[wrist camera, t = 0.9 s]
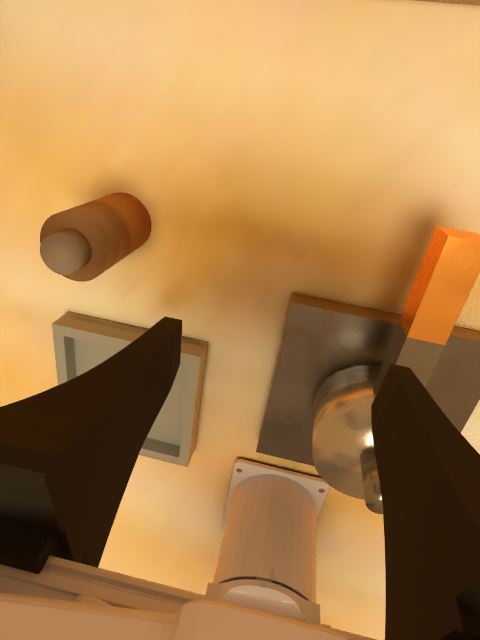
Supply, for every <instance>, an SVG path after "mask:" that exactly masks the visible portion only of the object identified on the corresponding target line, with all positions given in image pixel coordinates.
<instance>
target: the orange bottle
mask: <svg viewBox="0 0 480 640" xmlns="http://www.w3.org/2000/svg"><path fill="white" fill-rule="evenodd" d="M150 232H151V220H150V216H149V213H148V211H147V209H146V208H145V206H144V205H143V204H142V203H141V202H140V201H139V200H138V199H137V198H135V197H133V196H132V195H129V194H126V193H114V194H111V195H108V196H105V197H103V198H100V199H97V200H94V201H91V202H88V203H85V204H82V205H80V206H77V207H74V208H71V209H68V210H65V211H62V212H60V213H57V214H54V215H52V216H50V217H49V218H48V219H47V220H46V221H45V223H44V224H43V226H42V229H41V233H40V243H41V245H40V253H41V257H42V259H43V261H44V263H45V264H46V265H47V267H48V268H49V269H51V270H52V271H54V272H55V273H58V274H61V275H63V276H64V277H66V278H68V279H71V280H75V281H89V280H92V279H94V278H96V277H97V276H99V275H100V274H102V273H103V272H104V271H106V270H107V269H109V268H110V267H112V266H113V265H114V264H116V263H117V262H119V261H120V260H122V259H123V258H124V257H126V256H127V255H129V254H130V253H131V252H133V251H134V250H136V249H137V248H139V247H140V246H141V245H143V244H144V243H145V242H146V241H147V239H148V238H149V235H150Z"/></svg>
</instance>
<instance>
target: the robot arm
mask: <svg viewBox="0 0 480 640" xmlns="http://www.w3.org/2000/svg"><path fill="white" fill-rule="evenodd" d="M181 336H182V320H178V319H174V318H169V317H164V318H163V319H161V320H160V321H159V322H157V323H156V324H155V325H154V326H152V327H151V328H150V329H149V330H147V331H146V332H145V333H143V334H142V335H141V336H140V337H138V338H137V339H136V340H134V341H133V342H131V343H130V344H129V345H127V346H126V347H125V348H123V349H122V350H120V351H119V352H117V353H116V354H114V355H113V356H111V357H110V358H108V359H107V360H105V361H104V362H102V363H100V364H99V365H97V366H95V367H94V368H92V369H90V370H88V371H87V372H85V373H83V374H81V375H79V376H77V377H75V378H73V379H71V380H69V381H67V382H64V383H62V384H60V385H58V386H55V387H53V388H51V389H49V390H47V391H44V392H42V393H39V394H36V395H34V396H31V397H29V398H26V399H23V400H20V401H17V402H14V403H11V404H8V405H5V406H2V407H0V640H376V639H372V638H368V637H364V636H361V635H357V634H353V633H349V632H345V631H341V630H337V629H333V628H331V626H329V625H325V624H321V625H320V605H319V604H316V521H317V519H318V516H319V514H320V511H321V508H322V506H323V503H324V500H325V498H326V495H327V493H328V490H329V484H328V483H326V482H325V481H324V480H323V479H321V478H317V477H313V476H309V475H305V474H301V473H297V472H293V471H289V470H284V469H280V468H276V467H272V466H268V465H264V464H260V463H256V462H252V461H248V460H244V459H237V460H236V461H235V463H234V468H233V473H232V478H231V483H230V488H229V493H228V498H227V503H226V509H225V514H224V519H223V524H222V529H223V531H225V532H224V537H223V541H222V546H221V550H220V555H219V559H218V564H217V568H216V573H215V577H214V582H213V583H208V586H207V590H206V595H201V594H197V593H194V592H190V591H186V590H182V589H178V588H174V587H170V586H166V585H163V584H159V583H155V582H151V581H147V580H143V579H139V578H135V577H131V576H128V575H124V574H120V573H116V572H112V571H108V570H104V569H100V568H98V566H99V563H100V560H101V557H102V554H103V551H104V548H105V545H106V542H107V539H108V536H109V533H110V530H111V528H112V525H113V522H114V519H115V516H116V513H117V511H118V508H119V505H120V502H121V500H122V497H123V494H124V491H125V489H126V486H127V483H128V481H129V478H130V475H131V473H132V470H133V468H134V465H135V463H136V460H137V457H138V455H139V452H140V450H141V448H142V446H143V444H144V441H145V439H146V437H147V435H148V434H149V432H150V430H151V428H152V426H153V424H154V422H155V420H156V418H157V416H158V414H159V412H160V410H161V408H162V406H163V404H164V402H165V400H166V398H167V396H168V394H169V392H170V390H171V388H172V386H173V383H174V380H175V378H176V375H177V372H178V369H179V366H180V359H181ZM371 425H372V438H373V445H374V451H375V458H376V464H377V470H378V476H379V482H380V488H381V495H382V503H383V515H384V535H385V565H386V622H385V640H480V455H479V453H478V452H477V451H476V450H475V449H474V448H473V447H472V446H471V445H470V444H469V442H468V441H467V440H466V439H465V438H464V437H463V436H462V434H461V433H460V432H459V431H458V430H457V429H456V427H455V426H454V425H453V424H452V422H451V421H450V420H449V419H448V418H447V416H446V415H445V414H444V412H443V411H442V410H441V409H440V407H439V406H438V405H437V403H436V402H435V401H434V399H433V398H432V397H431V395H430V394H429V393H428V391H427V390H426V389H425V387H424V386H423V384H422V383H421V382H420V380H419V379H418V378H417V376H416V375H415V374H414V372H413V371H412V370H411V368H410V367H405V366H400V365H395V364H391V365H390V367H389V369H388V371H387V374H386V376H385V378H384V380H383V382H382V384H381V386H380V388H379V390H378V392H377V394H376V396H375V399H374V401H373V403H372V405H371ZM238 468H240V469H238Z"/></svg>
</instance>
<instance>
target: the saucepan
mask: <svg viewBox="0 0 480 640" xmlns="http://www.w3.org/2000/svg"><path fill="white" fill-rule="evenodd" d="M479 272H480V235H478V234H477V233H472V232H467V231H462V230H456V229H451V228H445V227H440V226H436V229H435V231H434V234H433V236H432V239H431V241H430V244H429V247H428V249H427V252H426V254H425V257H424V259H423V262H422V264H421V267H420V270H419V272H418V275H417V277H416V280H415V282H414V285H413V287H412V290H411V293H410V295H409V298H408V300H407V303H406V305H405V308H404V311H403V313H402V316H401V318H400V321H399V323H398V326H397V328H396V331H395V334H394V336H393V339H392V341H391V344H390V346H389V349H388V351H387V354H386V357H385V359H384V362H383V364H382V367H381V366H374V365H360V366H353V367H349V368H346V369H343V370H341V371H338V372H336V373H334V374H333V375H331V376H330V377H328V378H327V379H326V380H325V381H324V382H323V383H322V384H321V385H320V387H319V388H318V390H317V392H316V394H315V396H314V400H313V451H312V456H313V462H314V465H315V468H316V470H317V472H318V473H319V475H320V476H321V477H322V478H323V480H324V481H325V482H326V483H328V484H329V485H330V486H331V487H333V488H334V489H336V490H338V491H340V492H342V493H344V494H346V495H349V496H352V497H355V498H360V499H365V501H366V506H367V507H368V509H369V510H371V511H372V512H375V513H378V514H383V503H382V495H381V488H380V482H379V476H378V470H377V464H376V458H375V451H374V445H373V438H372V425H371V405H372V403H373V401H374V399H375V396H376V394H377V392H378V390H379V388H380V386H381V384H382V382H383V380H384V378H385V376H386V374H387V371H388V369H389V367H390V365H391V364H395V365H400V366H405V367H410V368H411V370H412V371H413V372H414V374H415V375H416V376H417V378H418V379H419V380H420V382H421V383H422V384H423V386H424V387H426V385H427V382H428V380H429V378H430V376H431V374H432V372H433V370H434V368H435V365H436V363H437V361H438V359H439V357H440V355H441V353H442V351H443V348H444V346H445V344H446V342H447V340H448V338H449V336H450V334H451V331H452V329H453V327H454V325H455V323H456V321H457V319H458V317H459V315H460V312H461V310H462V308H463V306H464V304H465V302H466V300H467V298H468V295H469V293H470V291H471V289H472V287H473V285H474V283H475V281H476V278H477V276H478V274H479Z"/></svg>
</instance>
